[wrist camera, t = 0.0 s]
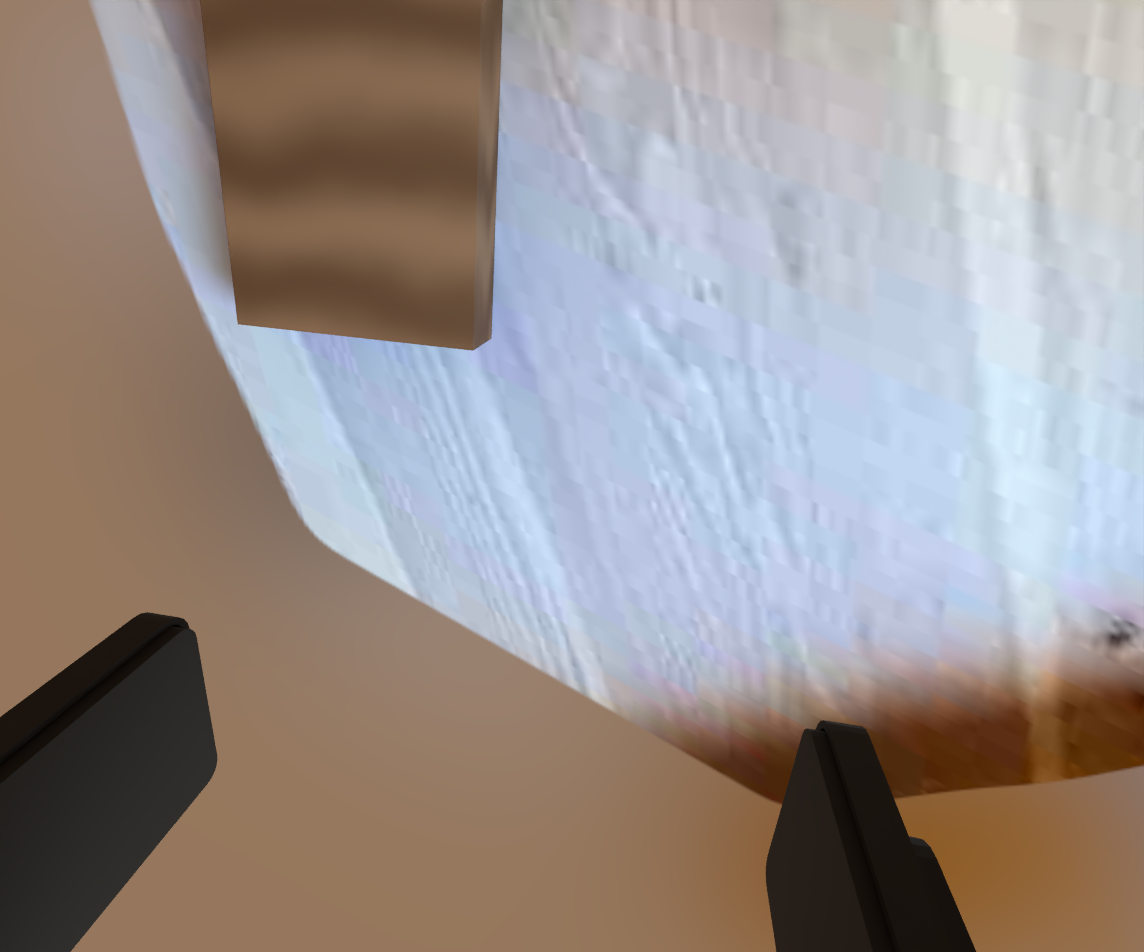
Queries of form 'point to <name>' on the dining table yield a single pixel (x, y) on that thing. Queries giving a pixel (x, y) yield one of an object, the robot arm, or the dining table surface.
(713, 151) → the dining table surface
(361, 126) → the walnut base
